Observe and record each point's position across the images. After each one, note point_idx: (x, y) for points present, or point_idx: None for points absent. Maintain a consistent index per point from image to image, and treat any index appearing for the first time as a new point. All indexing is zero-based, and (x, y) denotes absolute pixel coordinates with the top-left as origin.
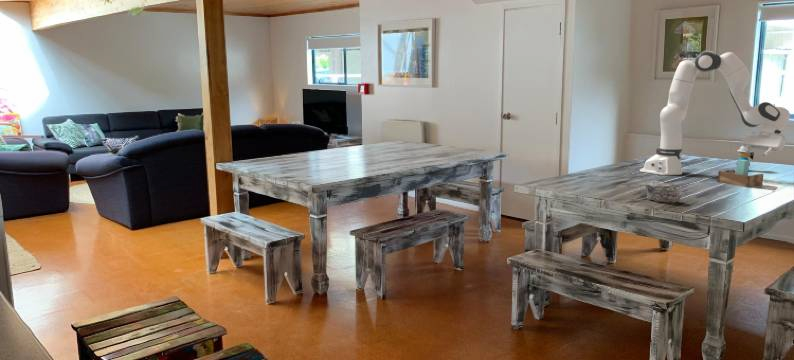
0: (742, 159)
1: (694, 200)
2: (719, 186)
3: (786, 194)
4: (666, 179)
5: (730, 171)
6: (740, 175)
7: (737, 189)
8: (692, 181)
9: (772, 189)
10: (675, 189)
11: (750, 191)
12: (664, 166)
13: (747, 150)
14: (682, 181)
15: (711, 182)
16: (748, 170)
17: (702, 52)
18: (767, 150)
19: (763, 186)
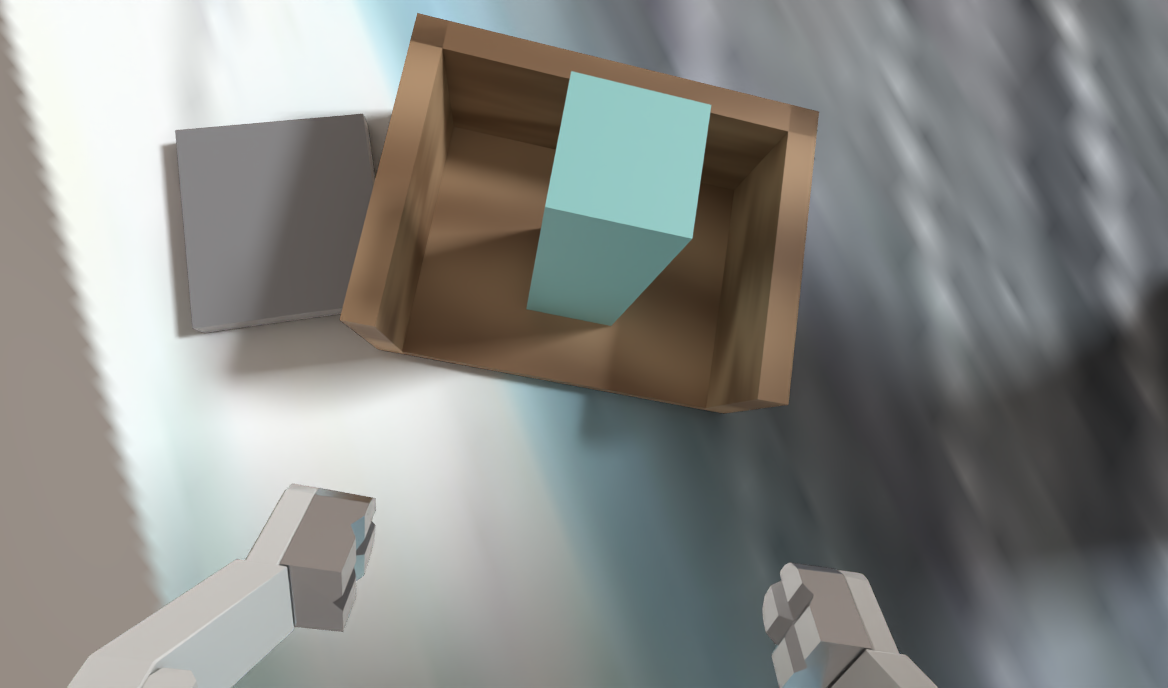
0: None
1: None
2: (668, 52)
3: (38, 97)
4: (1105, 51)
5: (762, 302)
6: (529, 47)
7: (493, 22)
8: (937, 119)
9: (192, 140)
10: None
11: (367, 8)
12: None
13: (835, 600)
14: (982, 57)
15: (814, 197)
16: (534, 264)
17: None
18: (231, 599)
19: (326, 246)
